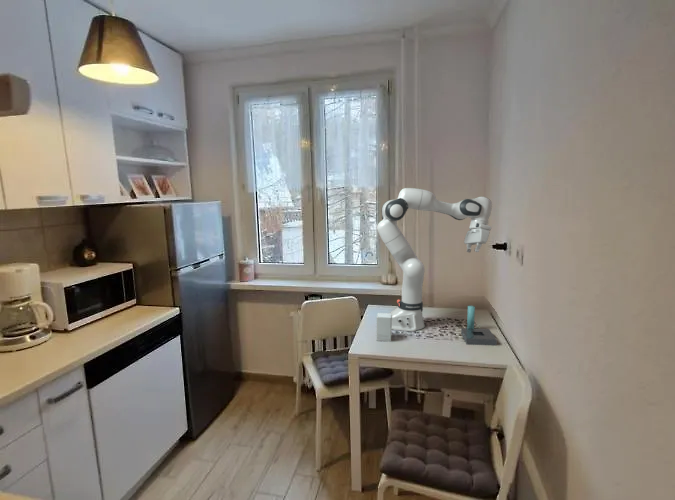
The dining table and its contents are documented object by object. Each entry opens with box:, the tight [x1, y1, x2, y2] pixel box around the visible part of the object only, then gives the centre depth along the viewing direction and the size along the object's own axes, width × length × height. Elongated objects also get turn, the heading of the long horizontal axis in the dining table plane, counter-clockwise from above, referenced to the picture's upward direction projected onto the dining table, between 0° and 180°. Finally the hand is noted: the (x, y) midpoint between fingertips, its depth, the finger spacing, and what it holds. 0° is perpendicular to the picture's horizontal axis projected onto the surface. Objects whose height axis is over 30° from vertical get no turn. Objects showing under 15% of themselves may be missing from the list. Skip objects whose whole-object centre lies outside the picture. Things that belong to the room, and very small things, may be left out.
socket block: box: [460, 327, 498, 346], centre depth 190 cm, size 14×14×3 cm
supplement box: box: [376, 312, 393, 343], centre depth 193 cm, size 7×7×13 cm
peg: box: [466, 305, 476, 329], centre depth 202 cm, size 4×4×13 cm
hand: (472, 252), depth 201 cm, fingers open, 8 cm apart
